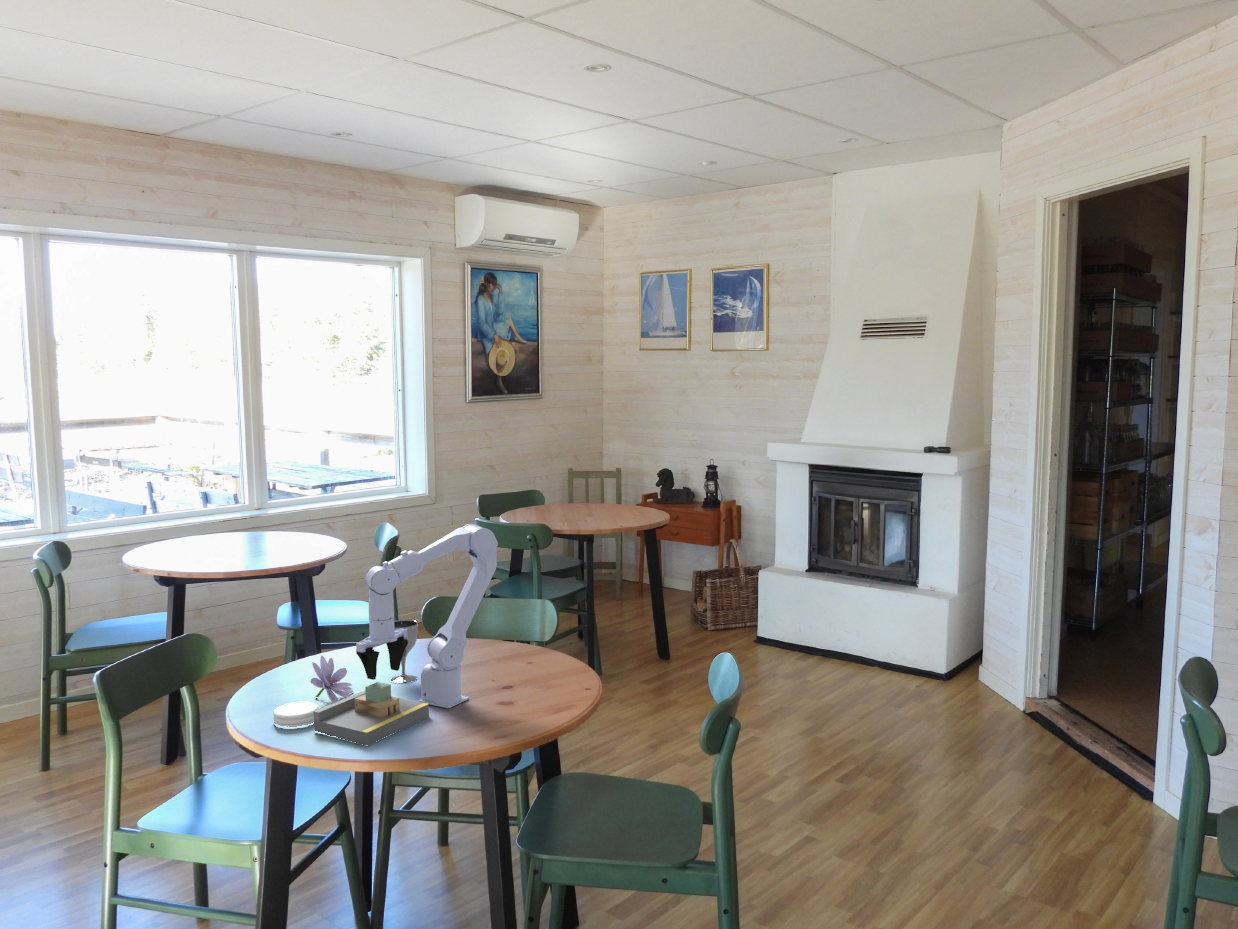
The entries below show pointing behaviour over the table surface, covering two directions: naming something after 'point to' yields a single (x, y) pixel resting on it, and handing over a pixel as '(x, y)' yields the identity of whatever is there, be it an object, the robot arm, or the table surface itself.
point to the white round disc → (295, 714)
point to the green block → (378, 692)
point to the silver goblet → (411, 637)
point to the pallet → (377, 706)
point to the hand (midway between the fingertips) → (383, 674)
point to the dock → (366, 720)
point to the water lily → (330, 680)
